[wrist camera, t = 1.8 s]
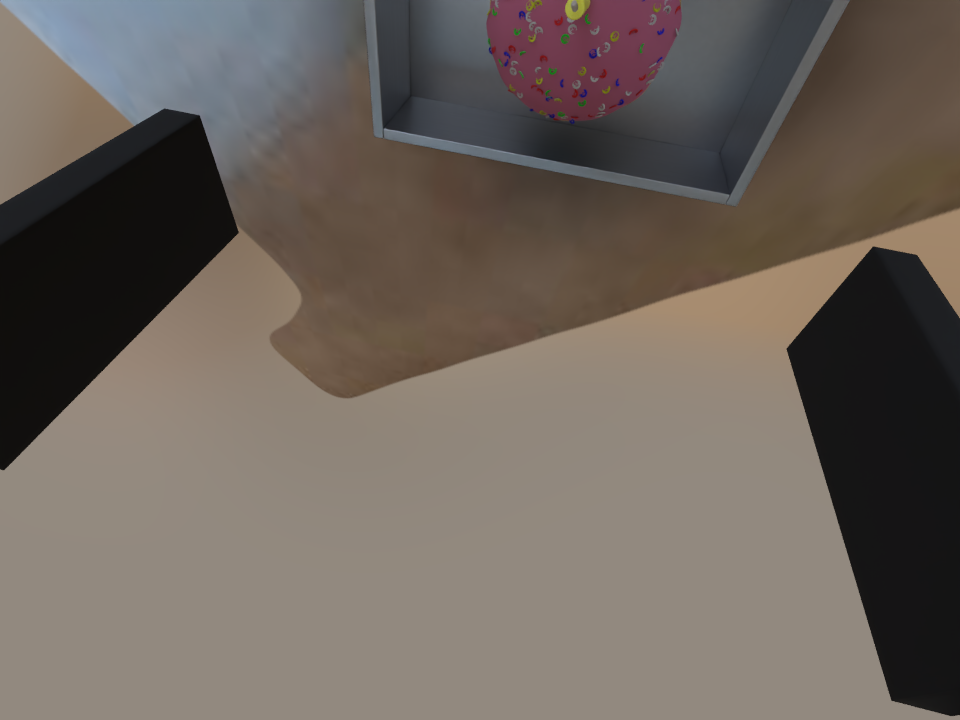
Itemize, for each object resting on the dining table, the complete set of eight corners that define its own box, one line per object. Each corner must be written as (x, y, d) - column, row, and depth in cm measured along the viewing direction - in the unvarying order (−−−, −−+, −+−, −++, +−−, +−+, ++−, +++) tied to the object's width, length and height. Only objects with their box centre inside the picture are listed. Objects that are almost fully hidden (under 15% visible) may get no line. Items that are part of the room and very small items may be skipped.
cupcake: (509, -124, 22) (437, -97, 14) (704, -121, 21) (745, -89, 13) (502, 83, 28) (450, 182, 20) (651, 95, 27) (657, 205, 19)
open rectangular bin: (890, -178, 19) (948, -179, 15) (724, 161, 29) (736, 207, 25) (394, -242, 20) (342, -257, 17) (403, 101, 31) (373, 137, 27)
